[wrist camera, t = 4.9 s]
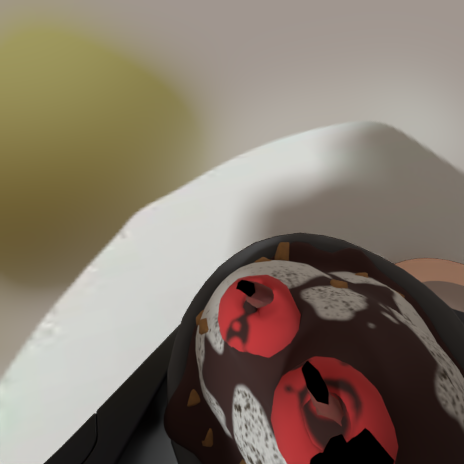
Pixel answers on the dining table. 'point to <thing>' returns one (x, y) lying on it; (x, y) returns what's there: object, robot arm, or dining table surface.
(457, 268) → the saucer
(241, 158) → the dining table surface
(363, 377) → the sundae
